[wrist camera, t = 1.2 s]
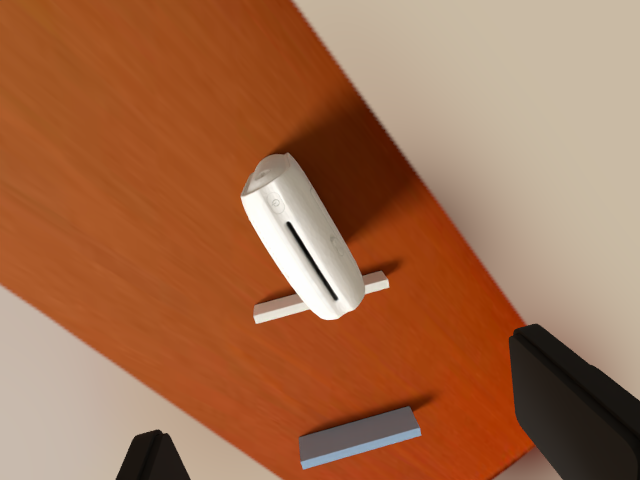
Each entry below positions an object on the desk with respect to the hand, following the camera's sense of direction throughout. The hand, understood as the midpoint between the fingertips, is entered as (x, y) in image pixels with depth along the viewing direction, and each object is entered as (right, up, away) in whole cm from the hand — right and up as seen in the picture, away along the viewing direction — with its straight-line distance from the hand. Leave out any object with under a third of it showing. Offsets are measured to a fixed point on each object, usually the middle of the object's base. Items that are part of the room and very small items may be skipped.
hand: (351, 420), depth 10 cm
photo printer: (-3, +7, +23) cm, 24 cm away
